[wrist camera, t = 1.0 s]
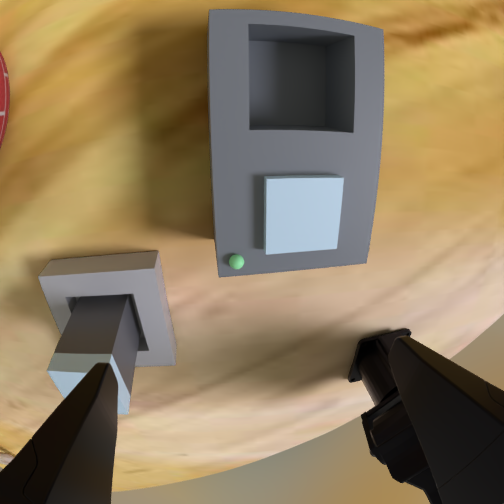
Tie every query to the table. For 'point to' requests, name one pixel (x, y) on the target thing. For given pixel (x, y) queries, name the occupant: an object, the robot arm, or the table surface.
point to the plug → (98, 344)
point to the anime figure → (5, 458)
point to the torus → (3, 98)
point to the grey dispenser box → (293, 139)
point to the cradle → (113, 283)
